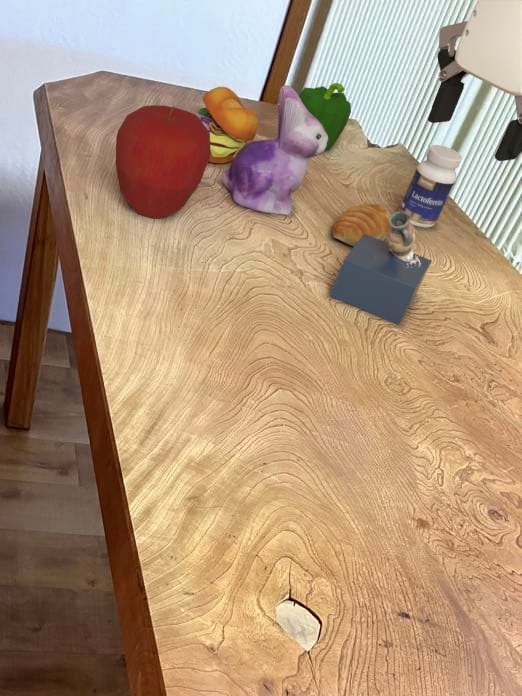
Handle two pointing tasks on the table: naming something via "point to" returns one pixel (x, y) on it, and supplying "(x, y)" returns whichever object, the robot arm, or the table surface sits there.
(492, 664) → the table surface
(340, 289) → the block
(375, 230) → the pastry
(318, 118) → the bell pepper
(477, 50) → the robot arm
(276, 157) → the figurine
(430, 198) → the pill bottle
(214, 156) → the cheeseburger
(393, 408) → the table surface
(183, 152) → the apple
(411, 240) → the vase
